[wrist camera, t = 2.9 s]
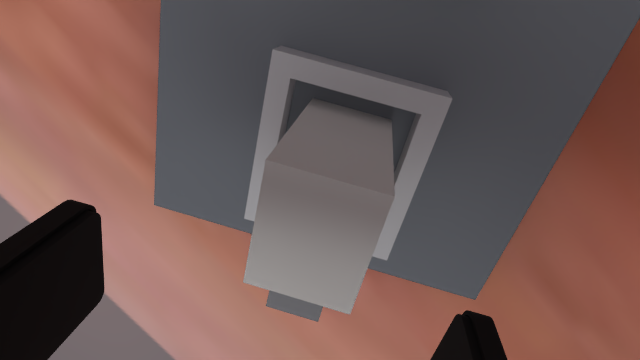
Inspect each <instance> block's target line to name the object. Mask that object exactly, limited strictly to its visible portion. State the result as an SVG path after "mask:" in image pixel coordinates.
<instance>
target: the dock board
mask: <svg viewBox="0 0 640 360" xmlns="http://www.w3.org/2000/svg"><path fill="white" fill-rule="evenodd" d="M639 18H640V0H161V13H160V43H159V73H158V104H157V134H156V164H155V194H154V205H156V206H160V207H163V208H166V209H170V210H173V211H176V212H180V213H183V214H187V215H190V216H193V217H197V218H200V219H203V220H207V221H210V222H214V223H217V224H220V225H224V226H227V227H230V228H234V229H237V230H241V231H244V232H247V233H251V234H252V232H253V226H254V221H255V215H256V210H257V204H258V199H259V194H260V188H261V183H262V177H263V172H264V166H265V161H266V159H267V157H268V156H269V155H270V153H271V152H272V151H273V149H274V148H275V147H276V146H277V144H278V143H279V142H280V140H281V139H282V138H283V136H284V135H285V134H286V132H287V131H288V130H289V129H290V127H291V126H292V125H293V123H294V122H295V121H296V119H297V118H298V117H299V115H300V114H301V113H302V112H303V110H304V109H305V108H306V106H307V105H308V104H309V102H310V101H311V100H312V98H315V99H318V100H322V101H325V102H329V103H333V104H336V105H340V106H343V107H347V108H351V109H354V110H358V111H361V112H365V113H368V114H372V115H376V116H379V117H383V118H386V119H390V120H392V140H393V165H394V190H395V197H394V200H393V203H392V205H391V208H390V211H389V213H388V216H387V218H386V221H385V224H384V226H383V229H382V232H381V234H380V237H379V239H378V242H377V245H376V247H375V250H374V253H373V255H372V258H371V260H370V263H369V266H368V268H369V269H372V270H376V271H379V272H383V273H386V274H389V275H393V276H396V277H399V278H403V279H406V280H410V281H413V282H416V283H420V284H423V285H427V286H430V287H433V288H437V289H440V290H443V291H447V292H450V293H454V294H457V295H460V296H464V297H467V298H470V299H474V300H475V299H476V298H477V296H478V294H479V292H480V291H481V289H482V287H483V286H484V284H485V282H486V280H487V279H488V277H489V275H490V274H491V272H492V270H493V268H494V267H495V265H496V263H497V262H498V260H499V258H500V256H501V255H502V253H503V251H504V250H505V248H506V246H507V244H508V243H509V241H510V239H511V238H512V236H513V234H514V232H515V231H516V229H517V227H518V225H519V224H520V222H521V220H522V219H523V217H524V215H525V213H526V212H527V210H528V208H529V207H530V205H531V203H532V201H533V200H534V198H535V196H536V195H537V193H538V191H539V189H540V188H541V186H542V184H543V183H544V181H545V179H546V177H547V176H548V174H549V172H550V171H551V169H552V167H553V165H554V164H555V162H556V160H557V159H558V157H559V155H560V153H561V152H562V150H563V148H564V147H565V145H566V143H567V141H568V140H569V138H570V136H571V135H572V133H573V131H574V129H575V128H576V126H577V124H578V123H579V121H580V119H581V117H582V116H583V114H584V112H585V111H586V109H587V107H588V105H589V104H590V102H591V100H592V99H593V97H594V95H595V93H596V92H597V90H598V88H599V87H600V85H601V83H602V81H603V80H604V78H605V76H606V75H607V73H608V71H609V69H610V68H611V66H612V64H613V63H614V61H615V59H616V57H617V56H618V54H619V52H620V51H621V49H622V47H623V45H624V44H625V42H626V40H627V39H628V37H629V35H630V33H631V32H632V30H633V28H634V27H635V25H636V23H637V21H638V20H639Z"/></svg>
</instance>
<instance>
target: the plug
mask: <svg viewBox="0 0 640 360" xmlns="http://www.w3.org/2000/svg"><path fill="white" fill-rule="evenodd" d="M394 197H395V190H394V165H393V140H392V120H390V119H386V118H383V117H379V116H376V115H372V114H368V113H365V112H361V111H358V110H354V109H351V108H347V107H343V106H340V105H336V104H333V103H329V102H325V101H322V100H318V99H315V98H312V100H311V101H310V102H309V104H308V105H307V106H306V108H305V109H304V110H303V112H302V113H301V114H300V115H299V117H298V118H297V119H296V121H295V122H294V123H293V125H292V126H291V127H290V129H289V130H288V131H287V132H286V134H285V135H284V136H283V138H282V139H281V140H280V142H279V143H278V144H277V146H276V147H275V148H274V149H273V151H272V152H271V153H270V155H269V156H268V157H267V159H266V161H265V166H264V172H263V177H262V183H261V188H260V194H259V199H258V204H257V210H256V215H255V221H254V226H253V232H252V237H251V242H250V248H249V253H248V259H247V264H246V270H245V275H244V280H243V282H244V283H247V284H250V285H254V286H257V287H260V288H264V289H267V290H270V291H269V295H268V299H267V304H266V306H267V307H271V308H274V309H277V310H281V311H284V312H287V313H290V314H294V315H297V316H300V317H304V318H307V319H310V320H314V321H317V322H318V320H319V317H320V314H321V311H322V308H323V307H327V308H330V309H333V310H336V311H340V312H343V313H346V314H350V313H351V310H352V308H353V305H354V303H355V300H356V297H357V295H358V292H359V289H360V287H361V284H362V282H363V279H364V276H365V274H366V271H367V268H368V266H369V263H370V260H371V258H372V255H373V253H374V250H375V247H376V245H377V242H378V239H379V237H380V234H381V232H382V229H383V226H384V224H385V221H386V218H387V216H388V213H389V211H390V208H391V205H392V203H393V200H394Z"/></svg>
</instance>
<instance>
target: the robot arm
mask: <svg viewBox="0 0 640 360" xmlns="http://www.w3.org/2000/svg"><path fill="white" fill-rule="evenodd" d="M103 294H104V271H103V251H102V231H101V216H100V215H99V214H98V213H96V209H95V207H94V206H92V205H88V204H85V203H81V202H77V201H74V200H67V201H65V202H63V203H61V204H60V205H58V206H57V207H55V208H54V209H52V210H51V211H49V212H48V213H46V214H45V215H43V216H41V217H40V218H38V219H37V220H35V221H34V222H32V223H31V224H29V225H28V226H26V227H25V228H23V229H22V230H20V231H19V232H17V233H16V234H14V235H13V236H11V237H9V238H8V239H6V240H5V241H4V242H2V243H0V360H47V359H48V358H49V357H50V356H51V355H52V354H53V353H54V352H55V351H56V350H57V348H58V347H59V346H60V345H61V344H62V343H63V342H64V341H65V340H66V339H67V337H68V336H69V335H70V334H71V333H72V332H73V331H74V330H75V329H76V328H77V326H78V325H79V324H80V323H81V322H82V321H83V320H84V319H85V317H86V316H87V315H88V314H89V313H90V312H91V311H92V310H93V309H94V308H95V307H96V306H97V304H98V303H99V302H100V300H101V299H102V296H103ZM431 360H507V357H506V355H505V352H504V349H503V346H502V343H501V341H500V338H499V335H498V332H497V329H496V327H495V324H494V321H493V319H492V318H491V317H489V316H486V315H482V314H479V313H475V312H472V311H465V312H464V313H463V314H462V315H460V314H457V315H456V316H455V317H454V319H453V321H452V323H451V324H450V326H449V328H448V330H447V332H446V333H445V335H444V337H443V339H442V340H441V342H440V344H439V346H438V347H437V349H436V351H435V353H434V354H433V356H432V358H431Z"/></svg>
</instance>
